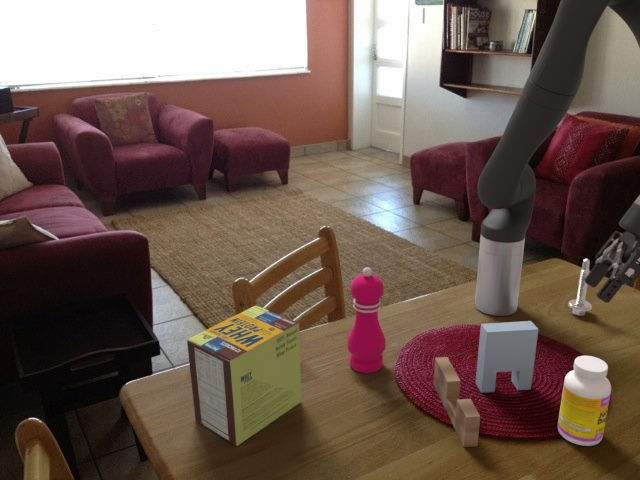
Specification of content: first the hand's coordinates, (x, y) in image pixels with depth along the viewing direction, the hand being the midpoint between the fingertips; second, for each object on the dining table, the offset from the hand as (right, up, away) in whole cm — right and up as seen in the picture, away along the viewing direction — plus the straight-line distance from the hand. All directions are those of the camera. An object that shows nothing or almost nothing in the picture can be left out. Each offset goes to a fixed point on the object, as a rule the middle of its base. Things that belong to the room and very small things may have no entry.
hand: (595, 291), depth 105 cm
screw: (+10, -7, +30) cm, 32 cm away
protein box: (-59, -20, -2) cm, 63 cm away
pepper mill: (-38, -15, +11) cm, 43 cm away
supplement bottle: (-6, -22, -8) cm, 24 cm away
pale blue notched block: (-15, -17, +4) cm, 23 cm away
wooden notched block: (-25, -20, -3) cm, 32 cm away
